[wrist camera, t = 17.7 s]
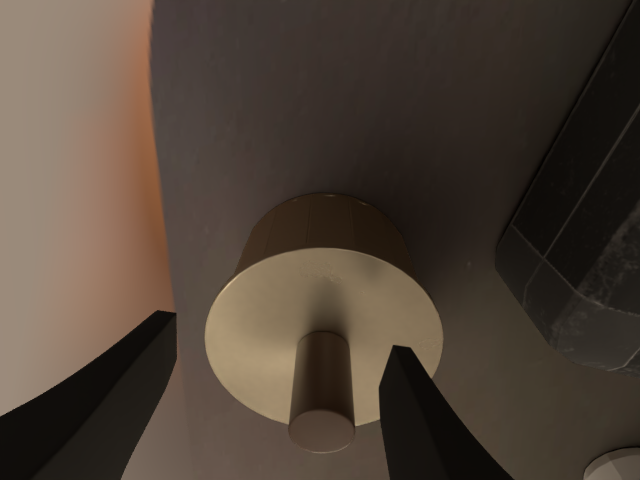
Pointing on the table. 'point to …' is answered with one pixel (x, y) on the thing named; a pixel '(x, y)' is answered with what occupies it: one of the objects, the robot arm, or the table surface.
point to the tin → (326, 228)
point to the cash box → (587, 221)
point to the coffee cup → (615, 466)
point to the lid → (318, 337)
